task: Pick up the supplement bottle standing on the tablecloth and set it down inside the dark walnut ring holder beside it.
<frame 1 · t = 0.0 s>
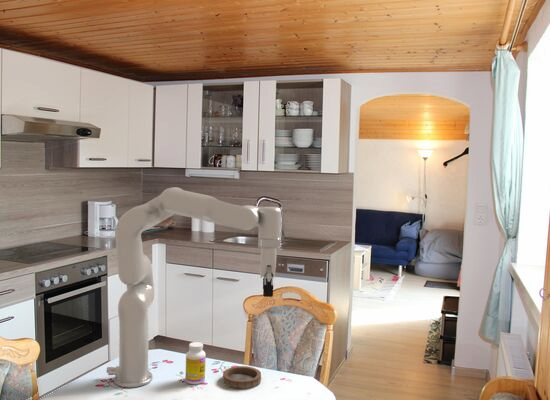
hand: (267, 292, 170), 31 cm above the table, fingers open, 9 cm apart
supplement bottle: (195, 381, 171), on the table
ring holder: (241, 380, 172), on the table
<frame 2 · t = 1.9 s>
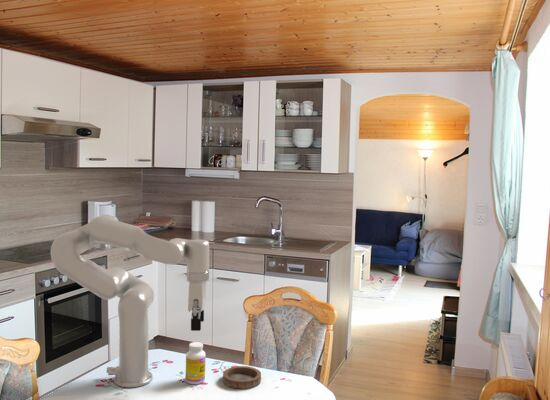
hand: (197, 325, 170), 19 cm above the table, fingers open, 9 cm apart
nothing on the table moved.
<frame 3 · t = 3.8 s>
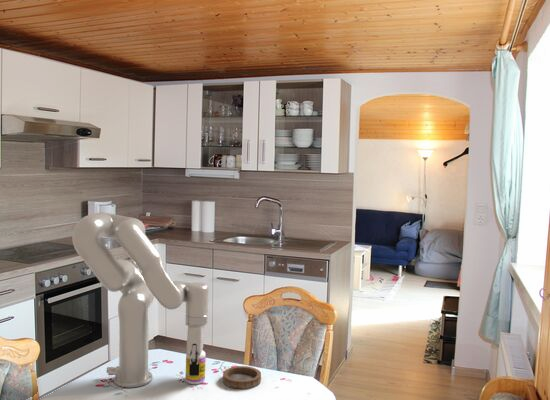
hand: (195, 370, 171), 4 cm above the table, fingers closed on supplement bottle, 6 cm apart
supplement bottle: (195, 381, 171), on the table, touching gripper
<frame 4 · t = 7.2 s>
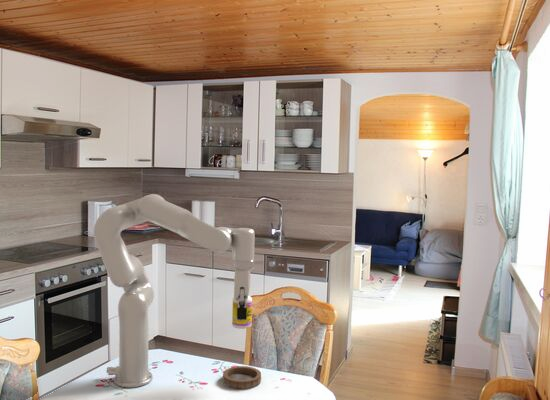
hand: (242, 315, 171), 23 cm above the table, fingers closed on supplement bottle, 6 cm apart
supplement bottle: (241, 326, 171), point 19 cm above the table, touching gripper
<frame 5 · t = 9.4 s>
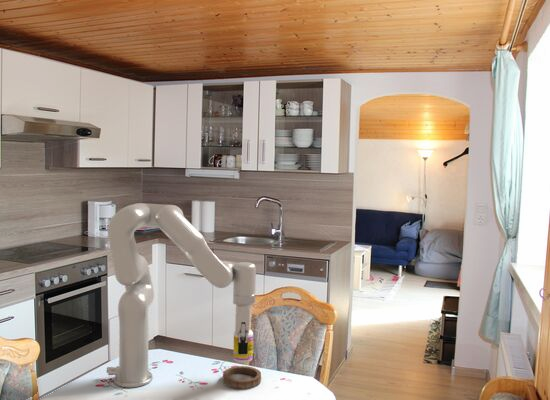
hand: (243, 349, 172), 11 cm above the table, fingers closed on supplement bottle, 6 cm apart
supplement bottle: (242, 360, 172), point 7 cm above the table, touching gripper
when the fingers open (6 cm above the table, at t = 11.0 s): supplement bottle drops 2 cm, resting on ring holder.
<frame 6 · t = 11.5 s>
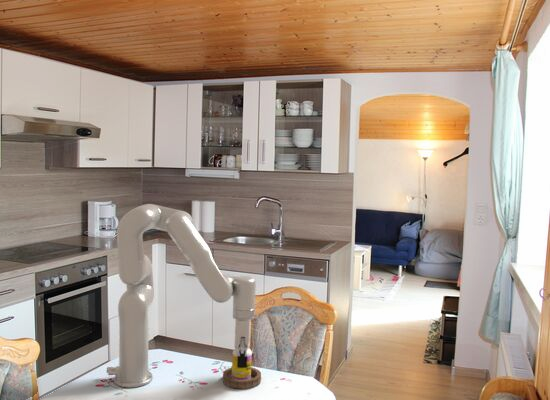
hand: (242, 361, 172), 7 cm above the table, fingers open, 9 cm apart
supplement bottle: (241, 379, 172), resting on ring holder
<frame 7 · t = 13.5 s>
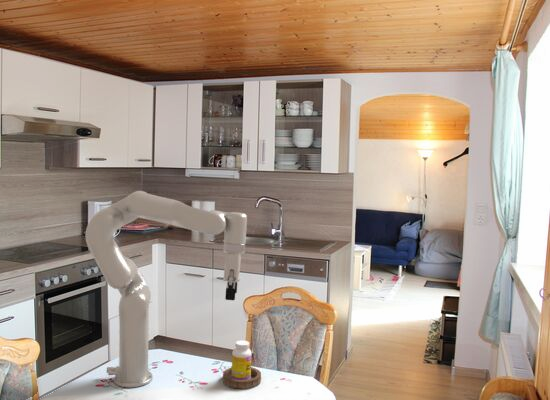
hand: (231, 296, 174), 29 cm above the table, fingers open, 9 cm apart
nothing on the table moved.
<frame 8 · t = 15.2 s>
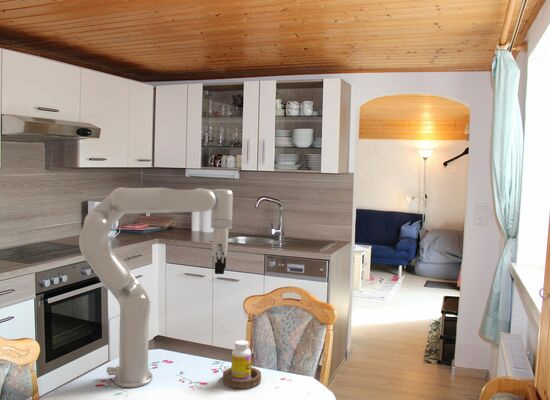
hand: (220, 271, 179), 36 cm above the table, fingers open, 9 cm apart
nothing on the table moved.
at the end: supplement bottle 0.4 cm off-centre on the ring holder, point 0.5 cm above the ring holder's base; supplement bottle tilted 1°; the gripper is holding nothing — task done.
